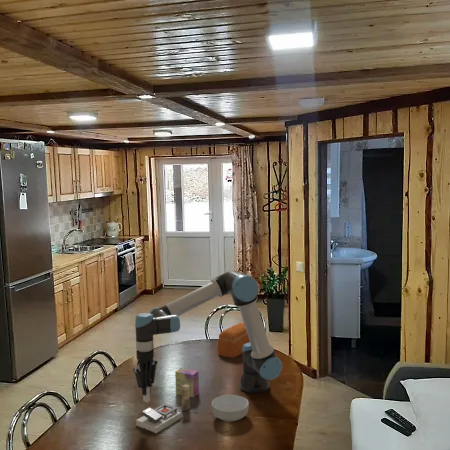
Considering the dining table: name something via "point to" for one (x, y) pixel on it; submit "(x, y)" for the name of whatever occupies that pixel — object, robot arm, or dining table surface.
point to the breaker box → (165, 420)
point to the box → (187, 381)
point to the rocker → (152, 415)
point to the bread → (232, 341)
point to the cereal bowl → (230, 407)
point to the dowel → (185, 397)
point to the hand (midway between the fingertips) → (146, 401)
